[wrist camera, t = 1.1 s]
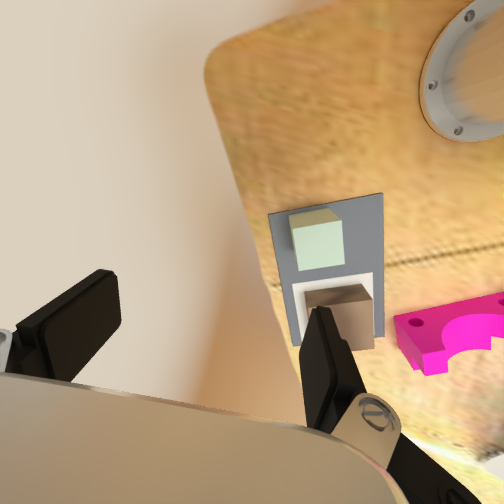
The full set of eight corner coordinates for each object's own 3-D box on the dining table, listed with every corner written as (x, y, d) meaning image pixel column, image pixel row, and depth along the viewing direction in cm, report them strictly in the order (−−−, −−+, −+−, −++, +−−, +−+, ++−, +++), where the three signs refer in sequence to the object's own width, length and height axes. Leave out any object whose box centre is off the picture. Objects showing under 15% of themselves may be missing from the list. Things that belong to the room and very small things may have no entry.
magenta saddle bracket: (398, 346, 38) (426, 389, 31) (393, 315, 36) (422, 354, 29) (506, 325, 35) (564, 367, 28) (507, 290, 33) (570, 326, 26)
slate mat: (381, 192, 29) (383, 193, 29) (383, 334, 37) (384, 337, 37) (268, 214, 31) (268, 215, 31) (292, 344, 39) (293, 346, 39)
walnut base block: (361, 283, 33) (372, 299, 30) (363, 328, 36) (374, 348, 33) (303, 291, 35) (307, 308, 31) (310, 334, 37) (314, 354, 34)
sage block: (328, 207, 30) (341, 220, 24) (331, 244, 32) (344, 264, 26) (288, 215, 31) (292, 229, 25) (293, 250, 32) (298, 271, 27)
